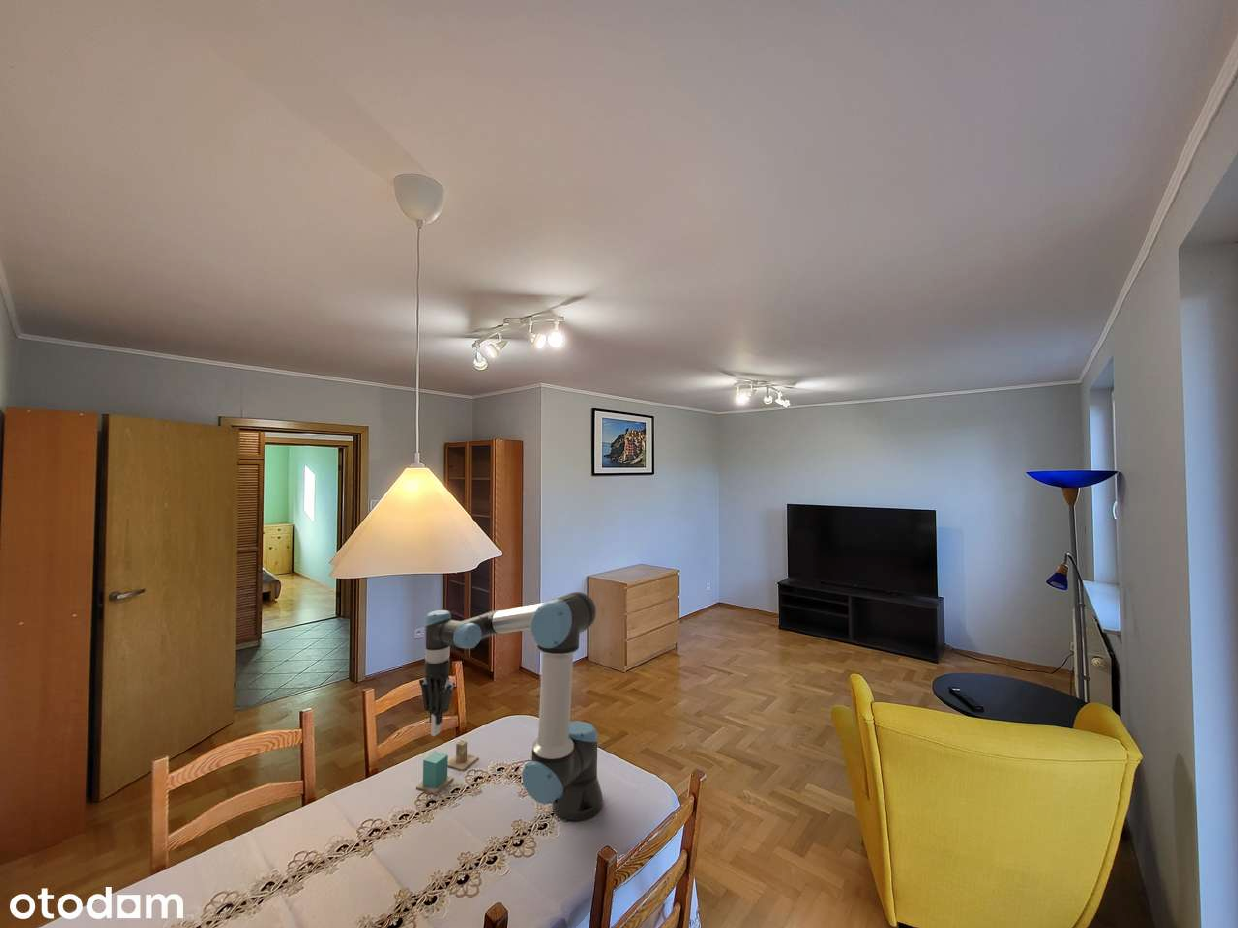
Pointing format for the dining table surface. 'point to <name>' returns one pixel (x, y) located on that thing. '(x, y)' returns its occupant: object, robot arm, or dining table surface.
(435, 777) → the teal rectangular block
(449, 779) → the post
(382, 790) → the dining table surface
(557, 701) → the robot arm
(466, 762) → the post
